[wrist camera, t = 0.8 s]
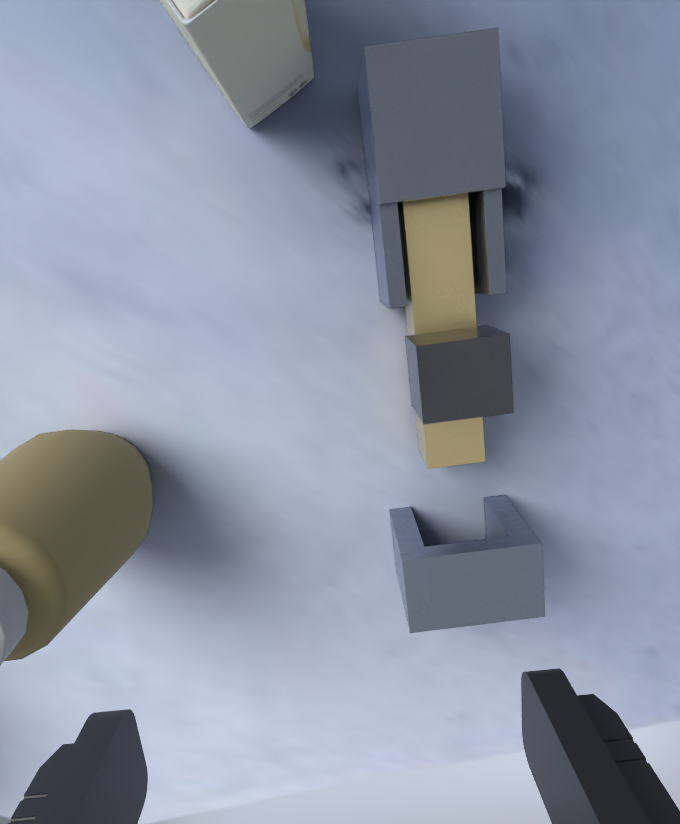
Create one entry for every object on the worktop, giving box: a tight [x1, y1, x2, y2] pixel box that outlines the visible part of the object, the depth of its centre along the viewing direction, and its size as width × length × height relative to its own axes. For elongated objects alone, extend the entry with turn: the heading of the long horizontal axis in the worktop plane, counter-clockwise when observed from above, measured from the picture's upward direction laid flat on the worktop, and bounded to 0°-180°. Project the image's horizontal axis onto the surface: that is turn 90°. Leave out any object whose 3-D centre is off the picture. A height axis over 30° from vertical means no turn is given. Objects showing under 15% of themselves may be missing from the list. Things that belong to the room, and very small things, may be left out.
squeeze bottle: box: [0, 430, 153, 665], centre depth 24 cm, size 8×8×18 cm
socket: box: [389, 495, 545, 633], centre depth 31 cm, size 4×7×6 cm, turn 97°
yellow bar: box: [397, 194, 514, 469], centre depth 26 cm, size 18×4×6 cm, turn 7°
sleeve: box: [357, 28, 507, 308], centre depth 26 cm, size 10×5×6 cm, turn 7°
